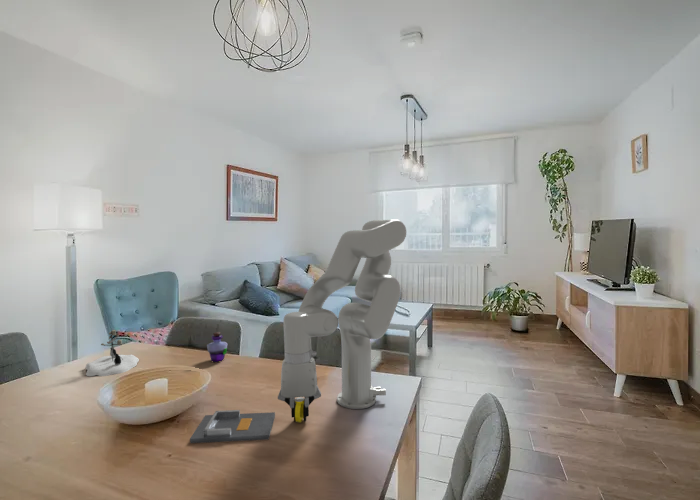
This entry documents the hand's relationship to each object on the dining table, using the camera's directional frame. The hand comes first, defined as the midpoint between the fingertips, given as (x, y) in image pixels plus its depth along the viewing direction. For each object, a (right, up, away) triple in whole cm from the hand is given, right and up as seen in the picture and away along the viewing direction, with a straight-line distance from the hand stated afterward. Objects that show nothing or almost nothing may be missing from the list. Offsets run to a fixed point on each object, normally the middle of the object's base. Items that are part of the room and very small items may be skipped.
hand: (300, 418), depth 101 cm
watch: (0, -1, 0) cm, 1 cm away
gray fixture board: (-17, -1, -4) cm, 18 cm away
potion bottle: (-43, +1, +51) cm, 67 cm away
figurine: (-83, 0, +43) cm, 94 cm away
